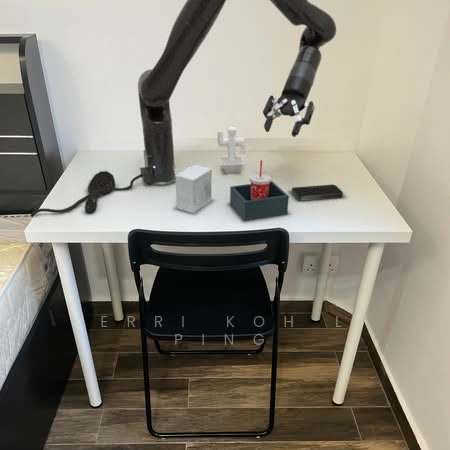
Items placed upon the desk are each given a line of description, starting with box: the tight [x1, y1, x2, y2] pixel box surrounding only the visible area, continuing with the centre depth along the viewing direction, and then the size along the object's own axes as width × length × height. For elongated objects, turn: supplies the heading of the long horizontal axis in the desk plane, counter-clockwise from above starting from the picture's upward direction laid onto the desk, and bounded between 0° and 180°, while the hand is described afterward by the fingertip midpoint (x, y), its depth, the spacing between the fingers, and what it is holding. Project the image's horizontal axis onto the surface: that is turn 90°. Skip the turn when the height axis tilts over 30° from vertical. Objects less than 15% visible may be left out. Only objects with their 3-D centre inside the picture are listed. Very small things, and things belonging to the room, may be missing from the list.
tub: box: [229, 180, 290, 222], centre depth 135 cm, size 14×12×6 cm
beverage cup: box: [249, 159, 272, 200], centre depth 132 cm, size 6×6×14 cm
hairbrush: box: [84, 169, 116, 214], centre depth 142 cm, size 8×4×25 cm
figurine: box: [217, 125, 246, 175], centre depth 156 cm, size 7×9×15 cm
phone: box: [291, 184, 344, 202], centre depth 145 cm, size 8×1×15 cm
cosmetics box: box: [175, 164, 213, 214], centre depth 136 cm, size 10×6×10 cm, turn 151°
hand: (279, 132), depth 133 cm, fingers open, 8 cm apart
